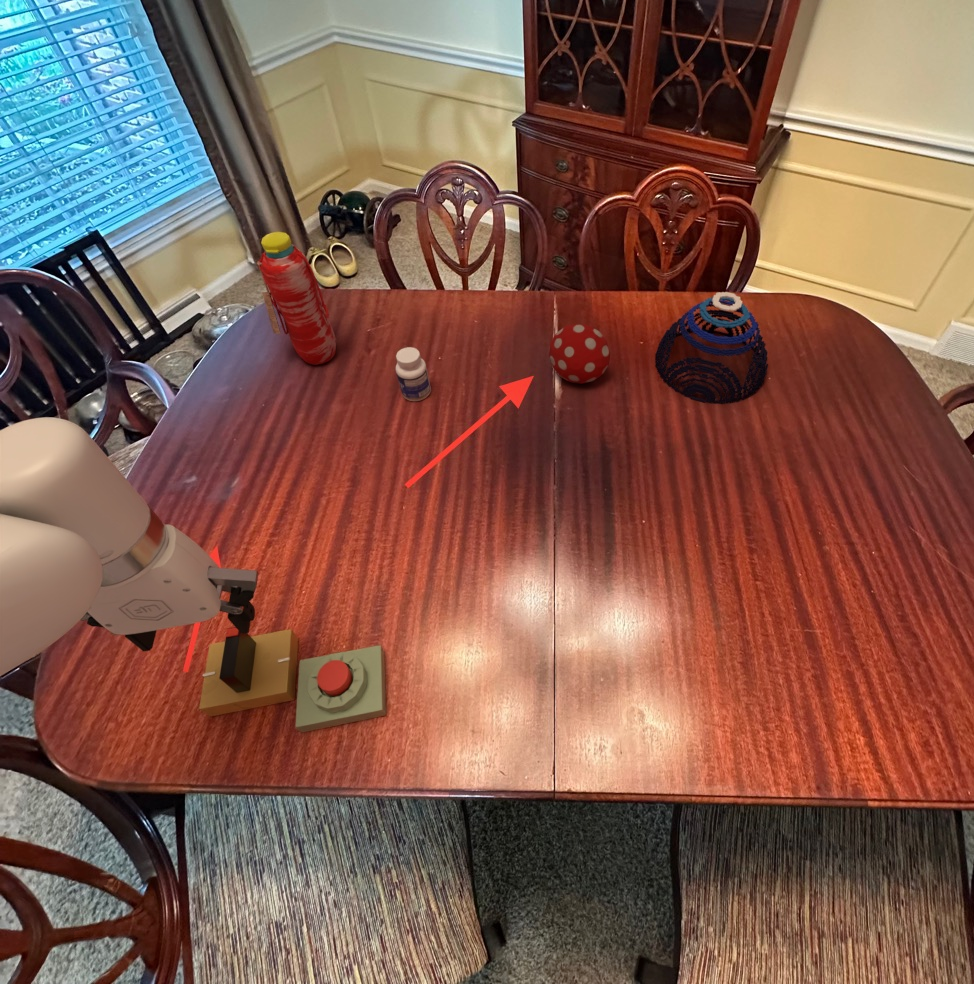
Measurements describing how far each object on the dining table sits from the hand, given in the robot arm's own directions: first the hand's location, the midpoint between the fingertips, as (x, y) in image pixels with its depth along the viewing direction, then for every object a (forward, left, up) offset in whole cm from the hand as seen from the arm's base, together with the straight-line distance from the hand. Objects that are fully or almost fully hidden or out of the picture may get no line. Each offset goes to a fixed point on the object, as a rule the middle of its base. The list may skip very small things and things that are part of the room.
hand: (200, 629), depth 64 cm
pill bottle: (+23, +47, -16) cm, 55 cm away
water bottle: (+4, +61, -16) cm, 63 cm away
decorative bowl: (+77, +43, -16) cm, 90 cm away
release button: (+11, -4, -12) cm, 17 cm away
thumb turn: (0, 0, -12) cm, 12 cm away
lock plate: (0, 0, -15) cm, 15 cm away
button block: (+11, -4, -15) cm, 19 cm away
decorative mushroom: (+53, +48, -16) cm, 74 cm away
